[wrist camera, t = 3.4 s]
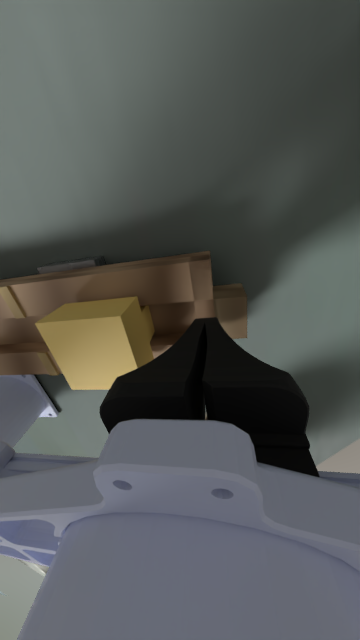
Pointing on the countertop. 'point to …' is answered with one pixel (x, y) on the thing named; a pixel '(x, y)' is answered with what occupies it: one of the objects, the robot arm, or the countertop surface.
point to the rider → (98, 340)
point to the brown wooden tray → (110, 283)
